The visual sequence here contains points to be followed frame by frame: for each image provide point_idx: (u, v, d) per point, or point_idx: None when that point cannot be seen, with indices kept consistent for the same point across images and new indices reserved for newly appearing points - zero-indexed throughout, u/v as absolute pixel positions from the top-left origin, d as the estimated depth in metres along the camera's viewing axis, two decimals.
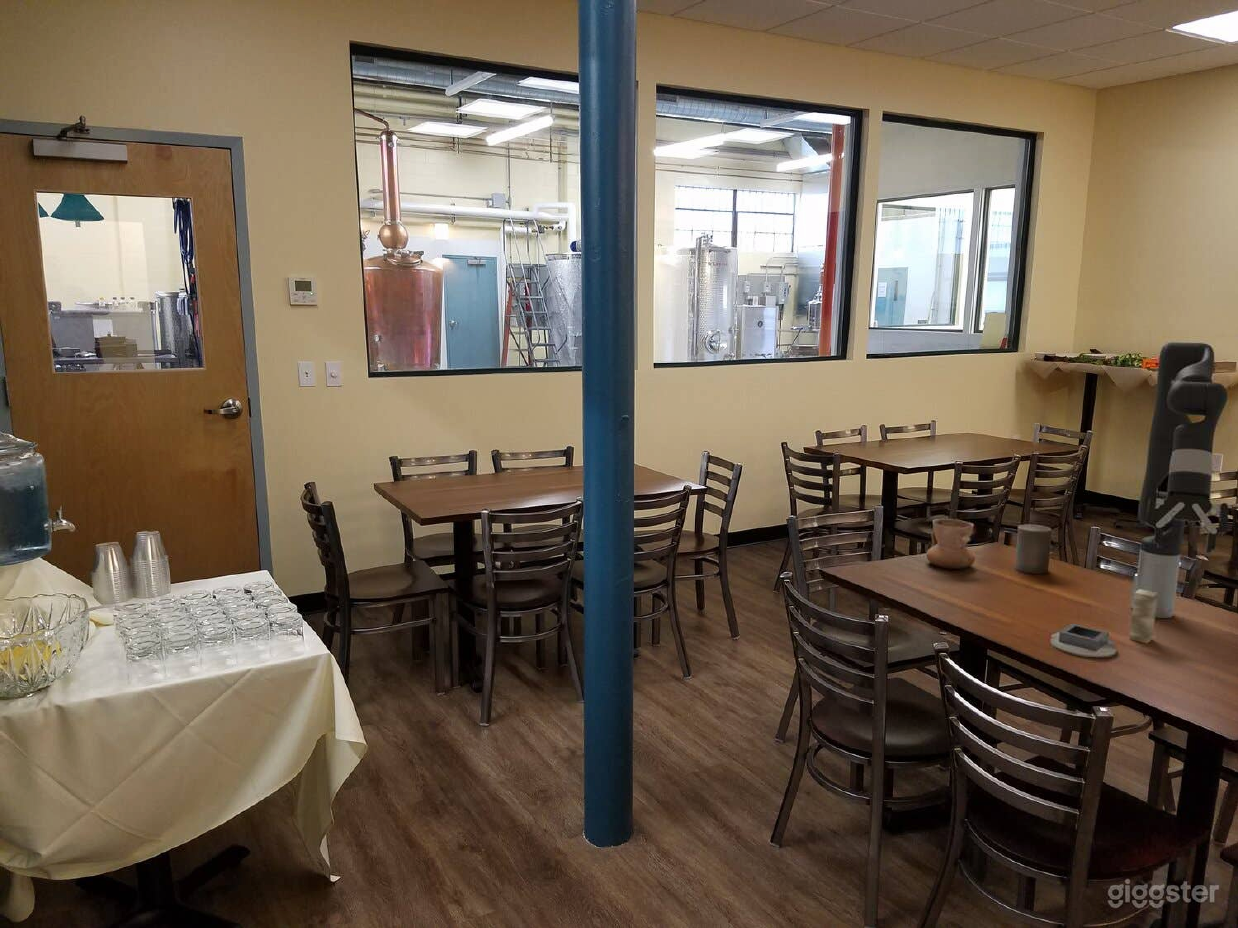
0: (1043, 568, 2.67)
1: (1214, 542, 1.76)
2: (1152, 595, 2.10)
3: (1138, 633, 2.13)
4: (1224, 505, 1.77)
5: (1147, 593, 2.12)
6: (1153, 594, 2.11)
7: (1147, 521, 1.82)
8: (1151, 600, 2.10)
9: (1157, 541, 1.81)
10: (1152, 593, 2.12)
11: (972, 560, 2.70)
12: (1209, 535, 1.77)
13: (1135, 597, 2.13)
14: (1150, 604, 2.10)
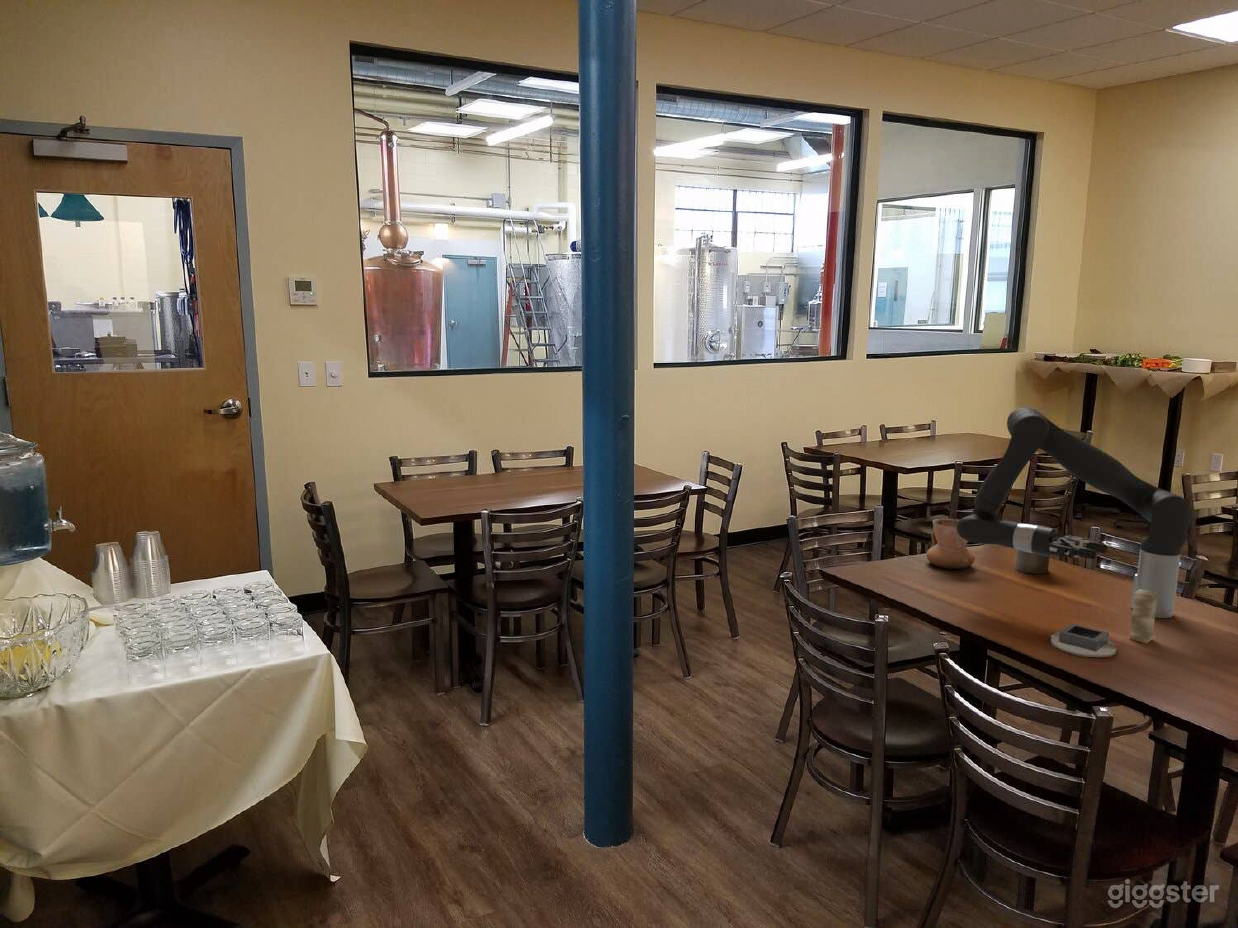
0: (1043, 568, 2.67)
1: None
2: (1152, 595, 2.10)
3: (1138, 633, 2.13)
4: None
5: (1147, 593, 2.12)
6: (1153, 594, 2.11)
7: None
8: (1151, 600, 2.10)
9: None
10: (1153, 593, 2.12)
11: (972, 560, 2.70)
12: None
13: (1135, 597, 2.13)
14: (1150, 604, 2.10)
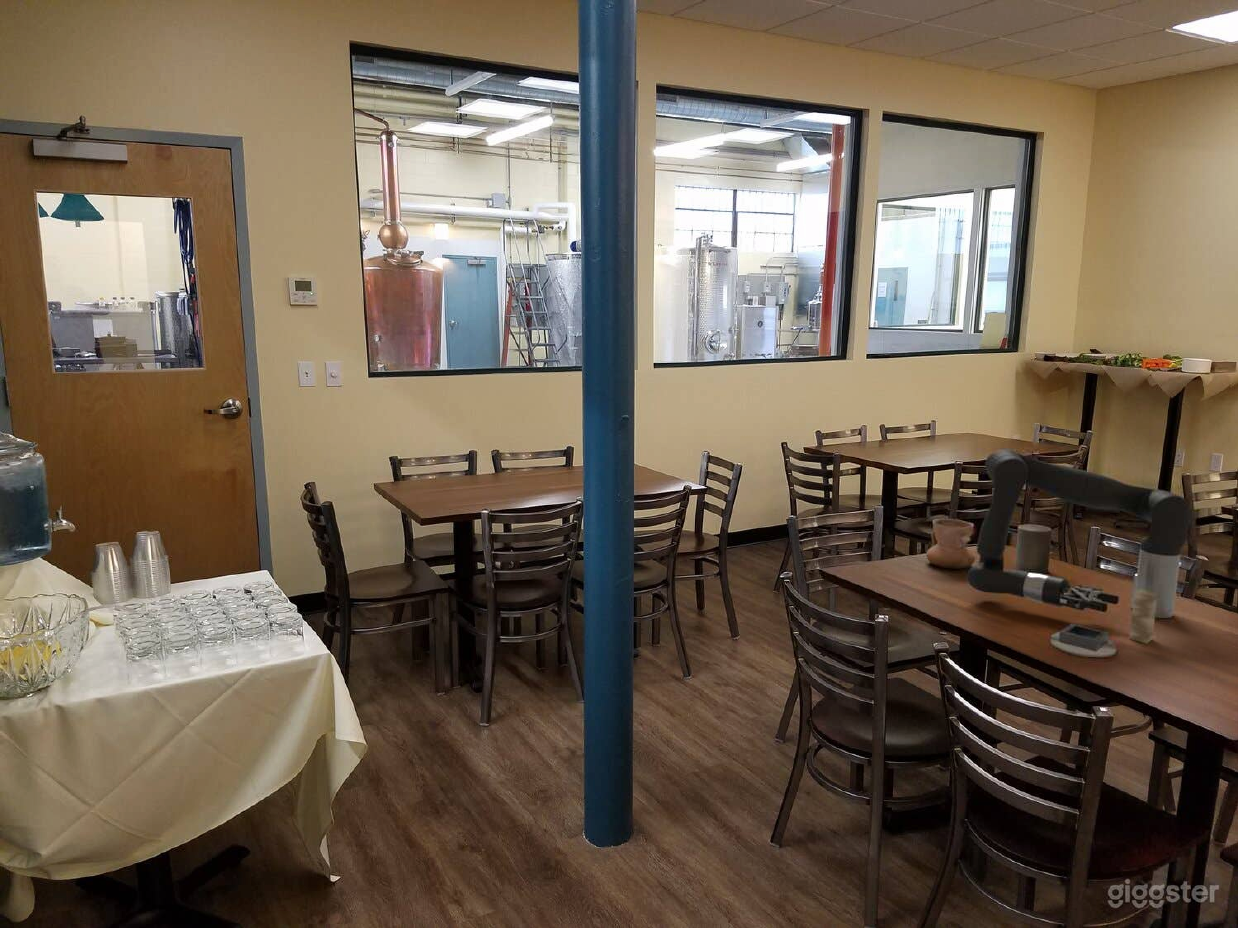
0: (1043, 568, 2.67)
1: None
2: (1152, 595, 2.10)
3: (1138, 633, 2.13)
4: None
5: (1147, 593, 2.12)
6: (1153, 594, 2.11)
7: None
8: (1151, 600, 2.10)
9: None
10: (1152, 593, 2.12)
11: (972, 560, 2.70)
12: None
13: (1135, 597, 2.13)
14: (1150, 604, 2.10)
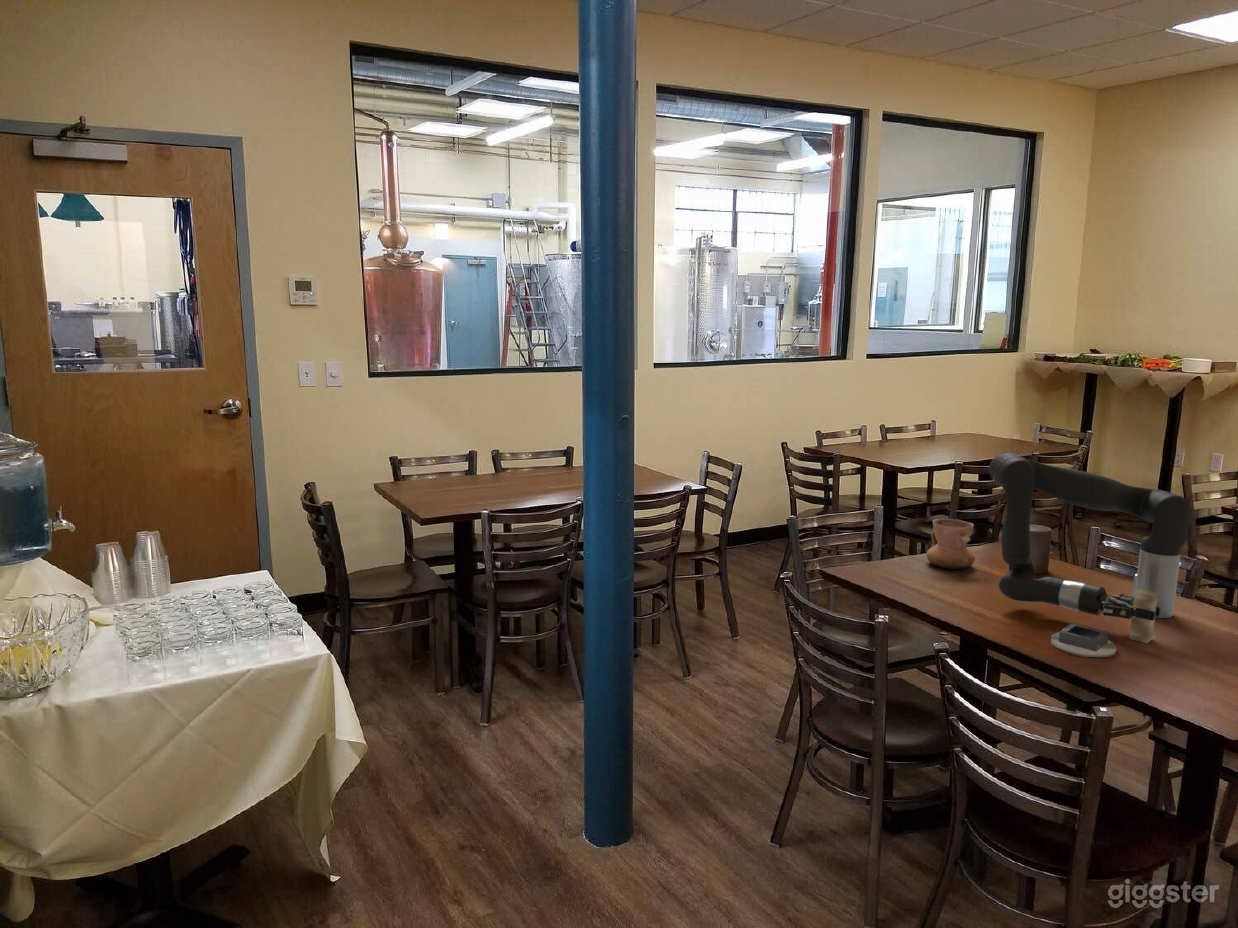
0: (1043, 568, 2.67)
1: None
2: (1152, 595, 2.10)
3: (1138, 633, 2.13)
4: None
5: (1147, 593, 2.12)
6: (1153, 594, 2.11)
7: None
8: (1151, 600, 2.10)
9: None
10: (1153, 593, 2.12)
11: (972, 560, 2.70)
12: None
13: (1135, 597, 2.13)
14: (1150, 604, 2.10)
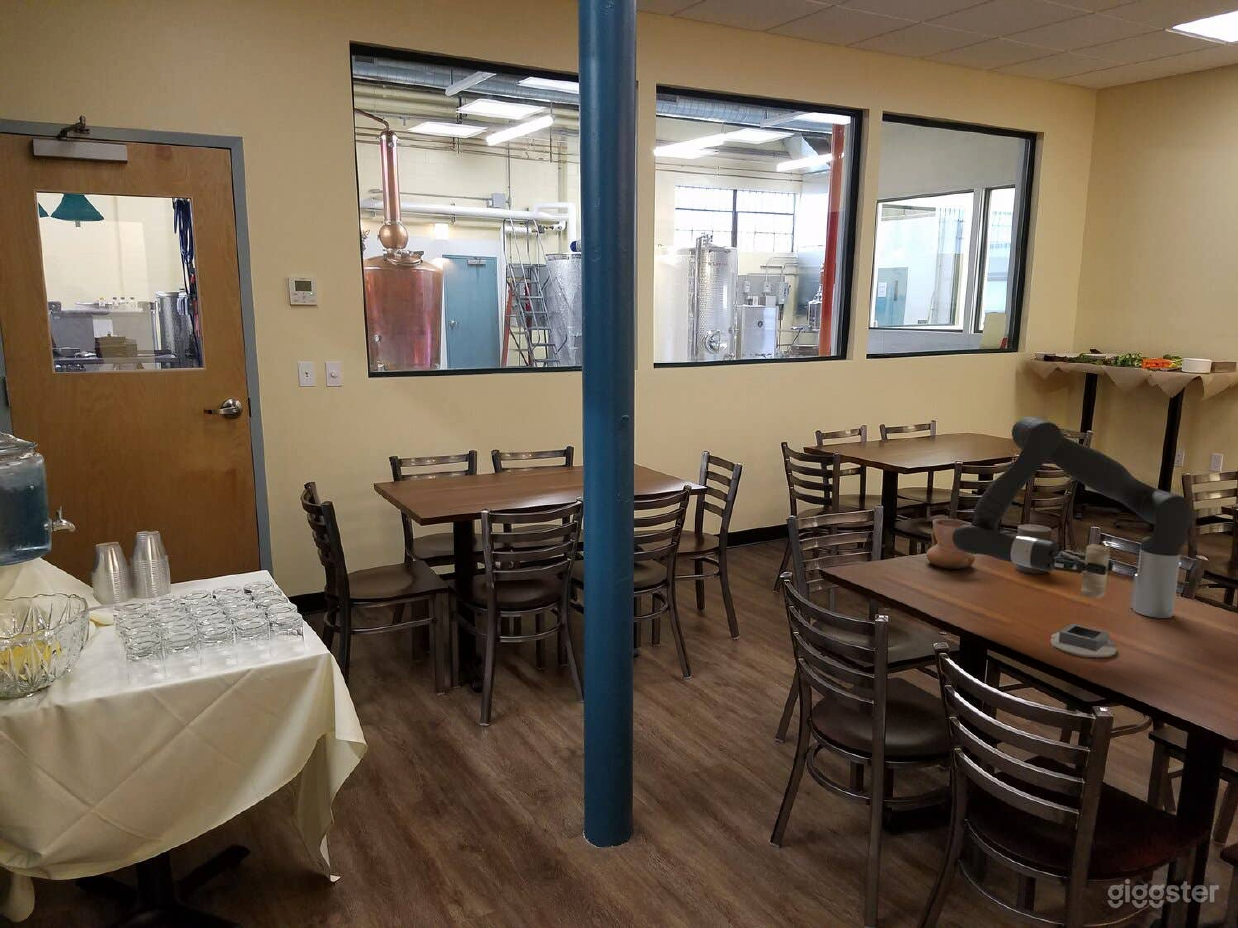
0: None
1: None
2: (1104, 549, 2.03)
3: (1089, 589, 2.06)
4: None
5: (1099, 547, 2.05)
6: (1105, 548, 2.04)
7: None
8: (1103, 554, 2.03)
9: None
10: (1105, 548, 2.05)
11: (972, 560, 2.70)
12: None
13: (1087, 551, 2.06)
14: (1102, 558, 2.04)
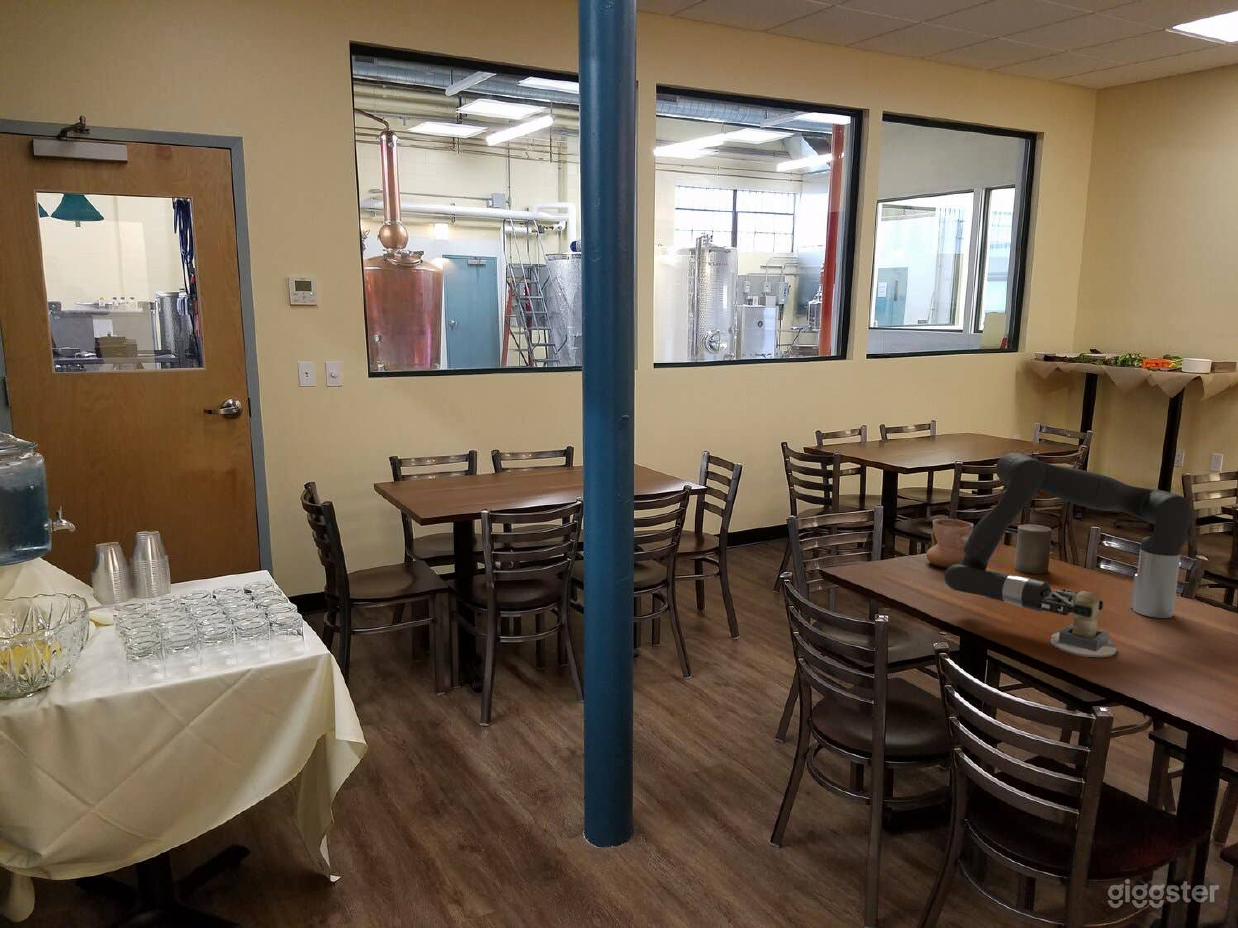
0: (1043, 568, 2.67)
1: None
2: (1093, 597, 2.05)
3: None
4: None
5: (1089, 595, 2.07)
6: (1095, 596, 2.06)
7: None
8: (1092, 602, 2.05)
9: None
10: (1094, 595, 2.06)
11: None
12: None
13: (1076, 599, 2.07)
14: (1091, 606, 2.05)
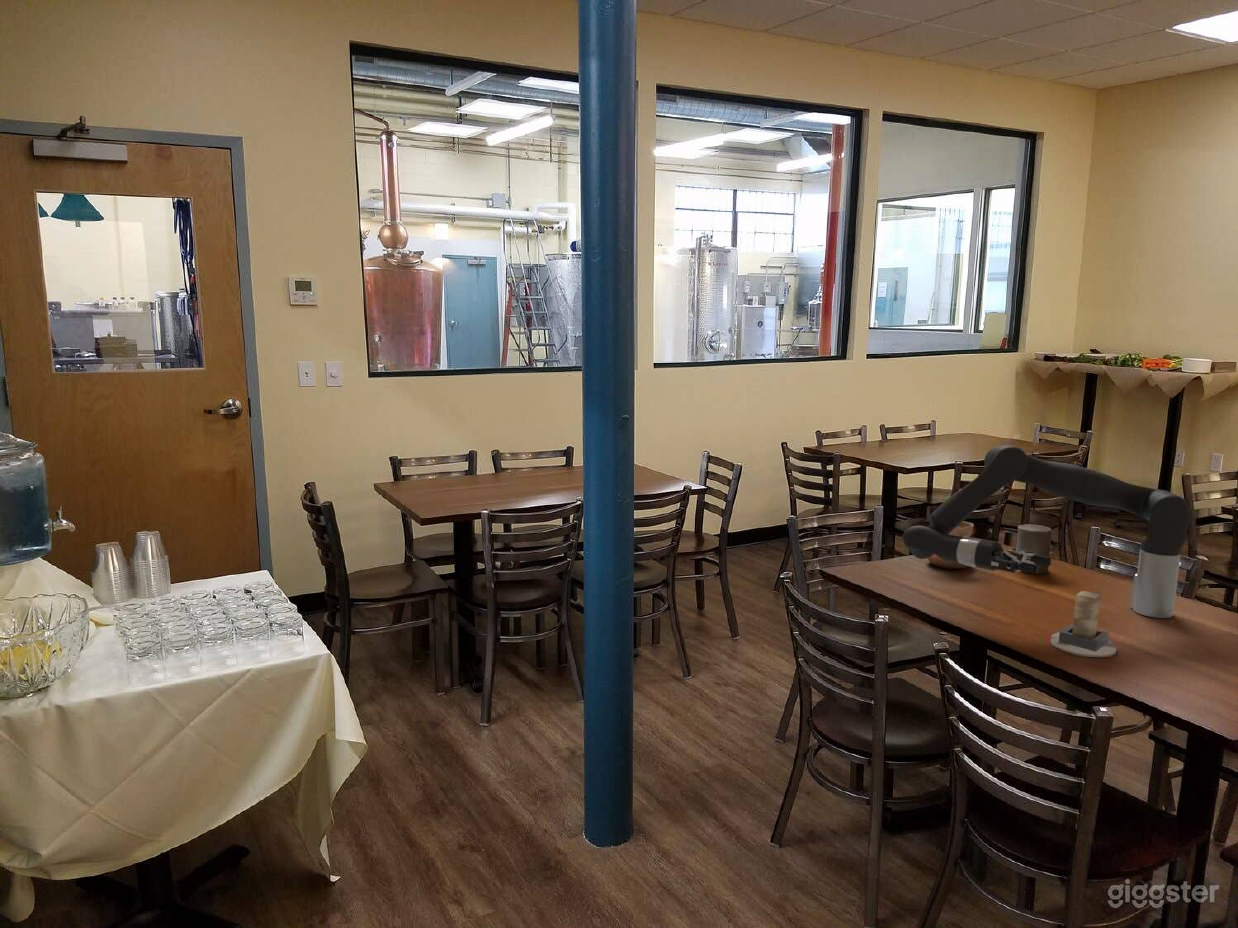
0: (1043, 568, 2.67)
1: None
2: (1094, 597, 2.05)
3: None
4: None
5: (1089, 595, 2.07)
6: (1095, 596, 2.06)
7: None
8: (1092, 602, 2.05)
9: None
10: (1094, 595, 2.06)
11: None
12: None
13: (1077, 599, 2.07)
14: (1091, 606, 2.05)
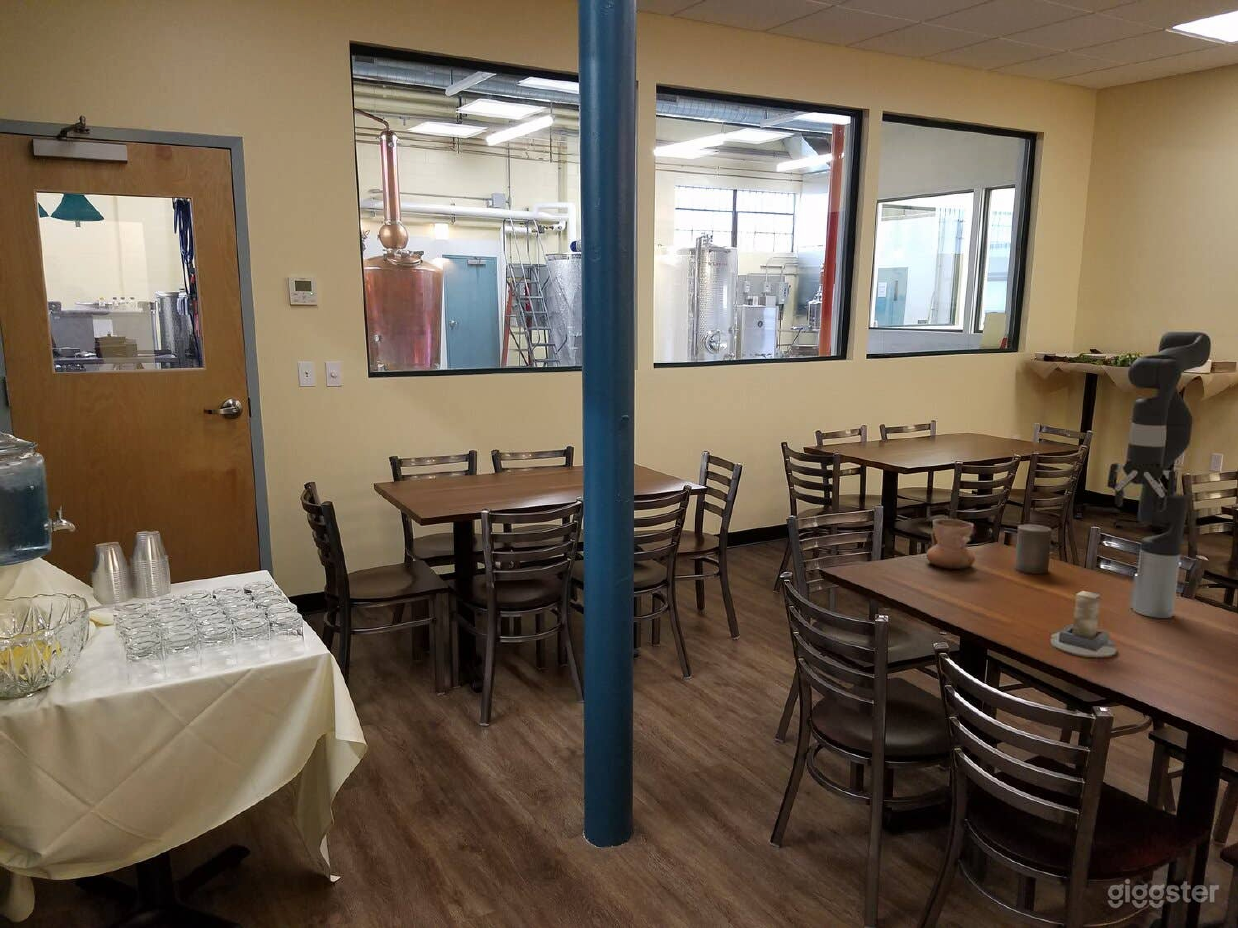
0: (1043, 568, 2.67)
1: (1163, 504, 2.05)
2: (1094, 597, 2.05)
3: None
4: (1171, 473, 2.02)
5: (1089, 595, 2.07)
6: (1095, 596, 2.06)
7: (1108, 485, 2.12)
8: (1092, 602, 2.05)
9: (1116, 502, 2.12)
10: (1095, 595, 2.06)
11: (972, 560, 2.70)
12: (1158, 498, 2.05)
13: (1077, 599, 2.07)
14: (1091, 606, 2.05)
